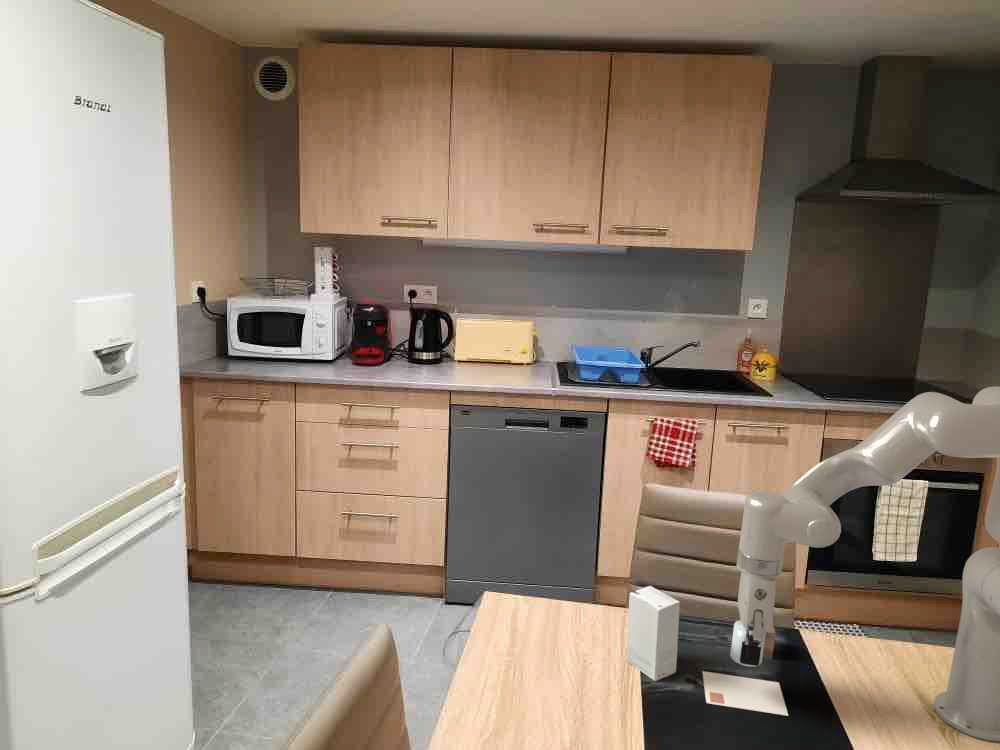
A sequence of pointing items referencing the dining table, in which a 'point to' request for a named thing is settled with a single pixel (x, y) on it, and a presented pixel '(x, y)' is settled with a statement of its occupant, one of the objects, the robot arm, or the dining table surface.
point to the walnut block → (769, 644)
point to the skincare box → (653, 632)
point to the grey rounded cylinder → (737, 642)
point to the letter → (744, 693)
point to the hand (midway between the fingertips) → (746, 653)
